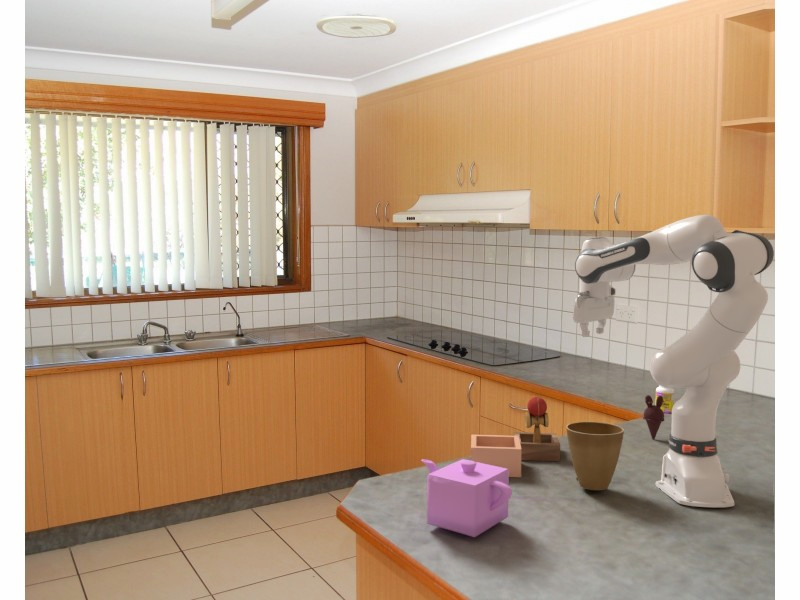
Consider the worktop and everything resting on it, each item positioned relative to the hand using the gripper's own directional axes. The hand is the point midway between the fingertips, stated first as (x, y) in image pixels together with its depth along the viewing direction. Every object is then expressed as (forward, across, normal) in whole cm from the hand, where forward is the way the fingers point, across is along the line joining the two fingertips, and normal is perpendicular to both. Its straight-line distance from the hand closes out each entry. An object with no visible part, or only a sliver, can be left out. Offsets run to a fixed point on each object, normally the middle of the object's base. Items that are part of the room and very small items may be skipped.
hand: (592, 335), depth 220 cm
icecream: (+37, +27, -10) cm, 47 cm away
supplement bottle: (+38, +65, +2) cm, 75 cm away
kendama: (+37, -14, +11) cm, 41 cm away
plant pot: (+36, -29, -16) cm, 49 cm away
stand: (+37, -34, +12) cm, 52 cm away
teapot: (+36, -71, -4) cm, 80 cm away
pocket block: (+37, -14, +11) cm, 41 cm away
